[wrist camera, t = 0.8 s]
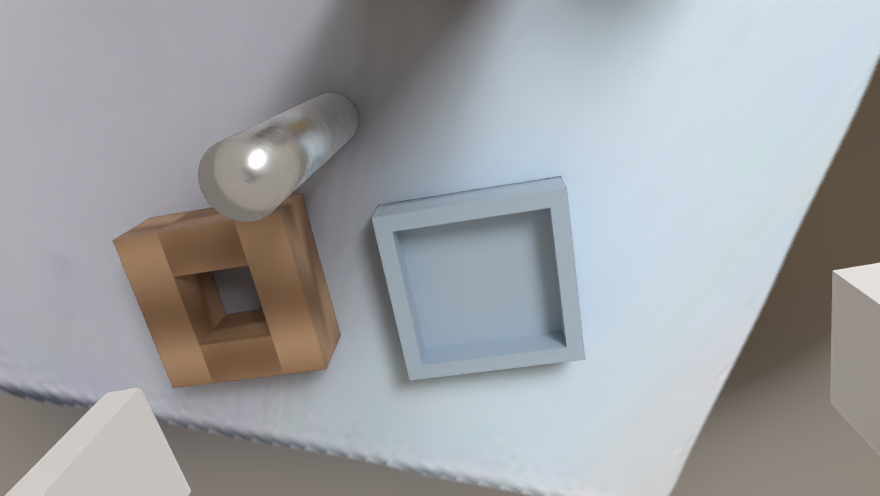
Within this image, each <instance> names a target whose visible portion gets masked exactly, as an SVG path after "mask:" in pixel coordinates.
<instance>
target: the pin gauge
mask: <svg viewBox="0 0 880 496" xmlns="http://www.w3.org/2000/svg"><path fill="white" fill-rule="evenodd" d="M358 122H359V121H358V113H357V110H356V108H355V106H354V105H353V103H352V102H351V101H350V100H349V99H348V98H347V97H345V96H343V95H341V94H339V93H334V92H328V93H323V94H321V95H318V96H316V97H314V98H312V99H310V100H308V101H306V102H304V103H301V104H299V105H297V106H295V107H293V108H291V109H289V110H286V111H284V112H282V113H280V114H278V115H276V116H274V117H271V118H269V119H267V120H265V121H263V122H261V123H259V124H256V125H254V126H252V127H250V128H248V129H246V130H244V131H241V132H239V133H237V134H235V135H233V136H231V137H229V138H227V139H224V140H222V141H220V142H218V143H216V144H214V145H213V146H212V147H210V148H209V149H208V150H207V151H206V153H205V154H204V156H203V157H202V160H201V162H200V165H199V172H198V176H199V184H200V187H201V190H202V193H203V195H204V196H205V198H206V200H207V201H208V202H209V204H210V205H211V206H212V207H213V208H214V209H215V210H216V211H218V212H219V213H220V214H222V215H224V216H226V217H228V218H230V219H233V220H236V221H242V222H250V221H256V220H259V219H262V218H264V217H266V216H267V215H269V214H270V213H271V212H272V211H273V210H275V209H276V208H277V207H278V206H279V205H280V204H281V203H282V202H283V201H284V200H285V199H286V198H287V197H289V196H290V195H291V194H292V193H293V192H294V191H295V190H296V189H297V188H298V187H299V186H300V185H301V184H303V183H304V182H305V181H306V180H307V179H308V178H309V177H310V176H311V175H312V174H313V173H314V172H315V171H317V170H318V169H319V168H320V167H321V166H322V165H323V164H324V163H325V162H326V161H327V160H328V159H329V158H331V157H332V156H333V155H334V154H335V153H336V152H337V151H338V150H339V149H340V148H341V147H342V146H343V145H345V144H346V143H347V142H348V141H349V140H350V139H351V138H352V137H353V136H354V134H355V133H356V131H357V128H358Z"/></svg>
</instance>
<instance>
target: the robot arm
mask: <svg viewBox="0 0 880 496" xmlns="http://www.w3.org/2000/svg"><path fill="white" fill-rule="evenodd" d="M832 281H833V282H832V335H831V336H832V337H831V391H830V394H831V395H830V402H831V404H832V405H833V406H834V407H835V408H836V409H837V410H838V411H839V412H840V414H841V415H842V416H843V417H844V418H845V419H846V420H847V421H848V422H849V423H850V425H851V426H852V427H853V428H854V429H855V430H856V431H857V432H858V433H859V434H860V435H861V436H862V438H863V439H864V440H865V441H866V442H867V443H868V444H869V445H870V446H871V448H872V449H873V450H874V451H875V452H876V453H877V454H878V455H879V456H880V263H876V264H870V265H864V266H858V267H852V268H846V269H840V270H834V271H833V279H832ZM190 492H191V490H190V487H189V486H188V483H187V481H186V479H185V477H184V475H183V473H182V471H181V469H180V467H179V465H178V463H177V461H176V459H175V457H174V455H173V453H172V451H171V449H170V447H169V445H168V443H167V441H166V439H165V437H164V434H163V432H162V430H161V428H160V426H159V424H158V422H157V420H156V418H155V416H154V414H153V412H152V410H151V408H150V406H149V404H148V402H147V400H146V398H145V396H144V394H143V392H142V390H141V388H140V387H138V388H132V389H126V390H120V391H114V392H108V393H106V394H105V395H104V396H103V397H102V398H101V399H100V400H99V401H98V402H97V403H96V404H95V405H94V406H93V407H92V408H91V409H90V410H89V411H88V412H87V413H86V414H85V415H84V416H83V417H82V418H81V419H80V420H79V421H78V422H77V423H76V424H75V425H74V426H73V427H72V428H71V429H70V430H69V431H68V432H67V433H66V435H64V436H63V437H62V438H61V439H60V440H59V441H58V442H57V443H56V444H55V445H54V446H53V447H52V448H51V449H50V450H49V452H47V454H46V455H45V456H44V457H43V458H42V459H41V460H40V461H39V462H38V463H37V464H36V465H35V466H34V467H33V468H32V469H31V470H30V471H29V472H28V473H27V474H26V475H25V476H24V477H23V478H22V479H21V480H20V481H19V482H18V483H17V484H16V485H15V486H14V487H13V488H12V489H11V490H10V491H9V492H8V493H7V494H6V495H5V496H188V495H189V494H190Z"/></svg>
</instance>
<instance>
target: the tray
mask: <svg viewBox="0 0 880 496" xmlns="http://www.w3.org/2000/svg"><path fill="white" fill-rule="evenodd" d="M372 223H373V227H374V231H375V235H376V240H377V244H378V248H379V252H380V257H381V261H382V265H383V269H384V274H385V278H386V282H387V286H388V291H389V295H390V299H391V303H392V308H393V312H394V316H395V320H396V325H397V329H398V333H399V338H400V342H401V346H402V350H403V355H404V359H405V363H406V367H407V372H408V376H409V380H410V381H411V380H419V379H427V378H436V377H444V376H452V375H461V374H469V373H477V372H486V371H494V370H502V369H511V368H519V367H527V366H536V365H544V364H552V363H561V362H569V361H577V360H585V354H584V344H583V335H582V325H581V316H580V306H579V297H578V288H577V278H576V269H575V259H574V250H573V241H572V231H571V222H570V212H569V203H568V194H567V187H566V185H565V183H564V181H563V179H562V178H561V176H558V177H552V178H546V179H539V180H533V181H527V182H520V183H514V184H508V185H501V186H495V187H489V188H483V189H476V190H470V191H464V192H457V193H451V194H445V195H438V196H432V197H426V198H420V199H413V200H407V201H401V202H394V203H388V204H382V205H378V207H377V209H376V211H375V212H374V214H373V216H372Z"/></svg>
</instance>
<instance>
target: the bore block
mask: <svg viewBox="0 0 880 496" xmlns="http://www.w3.org/2000/svg"><path fill="white" fill-rule="evenodd" d="M113 243H114V245H115V247H116V250H117V252H118V255H119V257H120V260H121V262H122V265H123V267H124V270H125V272H126V274H127V277H128V279H129V282H130V284H131V287H132V289H133V292H134V294H135V296H136V299H137V301H138V304H139V306H140V309H141V311H142V314H143V316H144V319H145V321H146V323H147V326H148V328H149V331H150V333H151V336H152V338H153V341H154V343H155V345H156V348H157V350H158V353H159V355H160V358H161V360H162V363H163V365H164V367H165V370H166V372H167V375H168V377H169V380H170V382H171V385H172V387H173V388H178V387H186V386H194V385H202V384H210V383H218V382H226V381H234V380H242V379H250V378H258V377H266V376H274V375H282V374H290V373H298V372H306V371H314V370H322V369H326V368H327V366H328V364H329V361H330V359H331V357H332V354H333V352H334V350H335V347H336V345H337V343H338V341H339V338H340V336H341V335H340V331H339V328H338V324H337V320H336V317H335V313H334V309H333V306H332V302H331V299H330V295H329V291H328V288H327V284H326V280H325V277H324V273H323V269H322V266H321V262H320V259H319V255H318V251H317V248H316V244H315V240H314V237H313V233H312V230H311V226H310V222H309V219H308V215H307V211H306V208H305V204H304V201H303V197H302V193H299V194H293V195H290V196H289V197H287V198H286V199H285V200H284V201H283V202H282V203H281V204H280V205H279V206H278V207H277V208H276V209H275V210H273V211H272V212H271V213H270V214H269V215H267V216H266V217H264V218H262V219H259V220H256V221H250V222H242V221H236V220H233V219H230V218H228V217H226V216H224V215H222V214H220V213H219V212H218V211H216V210H215V209H214V208H207V209H201V210H195V211H189V212H183V213H177V214H171V215H165V216H159V217H153V218H149V219H147V220H146V221H144V222H142V223H141V224H139V225H137V226H136V227H134V228H132V229H131V230H129V231H127V232H126V233H124V234H122V235H121V236H119V237H117V238H116V239H114V240H113ZM242 266H249V269H250V272H251V275H252V278H253V281H254V284H255V287H256V290H257V293H258V296H259V300H260V303H261V306H262V309H261V310H253V311H246V312H239V313H232V314H226V313H225V310H224V307H223V304H222V302H221V299H220V296H219V293H218V290H217V287H216V284H215V282H214V279H213V276H212V273H211V271H216V270H222V269H229V268H236V267H242Z"/></svg>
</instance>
